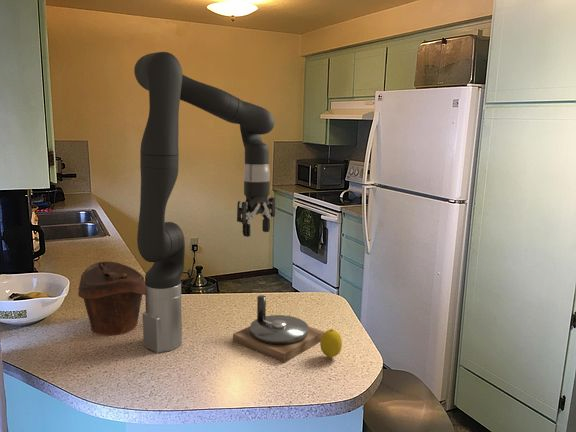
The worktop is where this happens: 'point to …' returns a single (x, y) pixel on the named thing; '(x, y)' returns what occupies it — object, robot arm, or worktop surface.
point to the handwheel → (276, 326)
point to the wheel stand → (278, 350)
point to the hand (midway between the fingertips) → (256, 234)
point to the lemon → (331, 343)
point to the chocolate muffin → (112, 297)
